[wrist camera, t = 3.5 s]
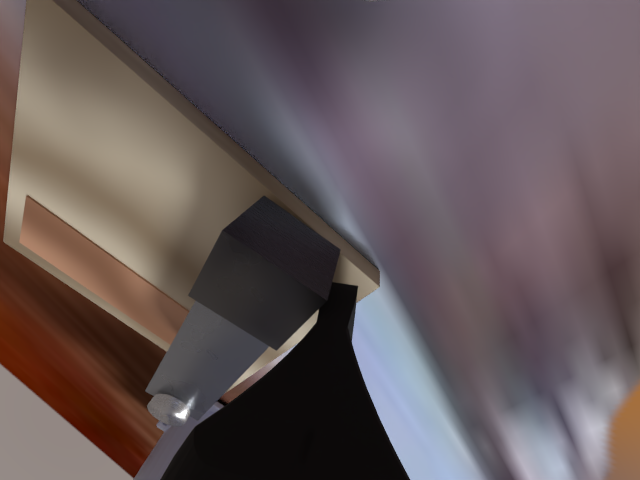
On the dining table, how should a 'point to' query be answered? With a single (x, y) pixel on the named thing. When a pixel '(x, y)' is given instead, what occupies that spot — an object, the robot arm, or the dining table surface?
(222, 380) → the leg
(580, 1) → the dining table surface
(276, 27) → the dining table surface
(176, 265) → the board
